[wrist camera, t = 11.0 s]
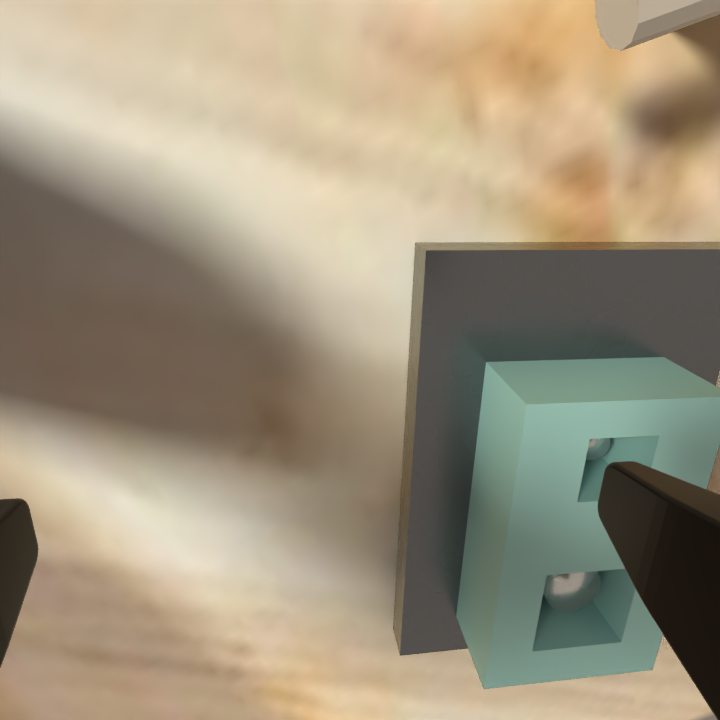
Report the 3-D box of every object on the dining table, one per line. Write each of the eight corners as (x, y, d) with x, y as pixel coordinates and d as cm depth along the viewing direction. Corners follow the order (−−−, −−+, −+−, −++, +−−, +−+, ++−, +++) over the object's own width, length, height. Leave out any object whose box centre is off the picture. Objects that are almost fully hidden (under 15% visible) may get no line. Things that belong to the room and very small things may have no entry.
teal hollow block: (604, 602, 25) (652, 669, 22) (456, 616, 24) (483, 689, 21) (663, 357, 21) (734, 396, 18) (485, 361, 20) (526, 404, 17)
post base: (393, 628, 26) (412, 708, 22) (415, 242, 20) (447, 266, 16) (628, 604, 28) (682, 676, 24) (722, 242, 21) (816, 263, 17)
